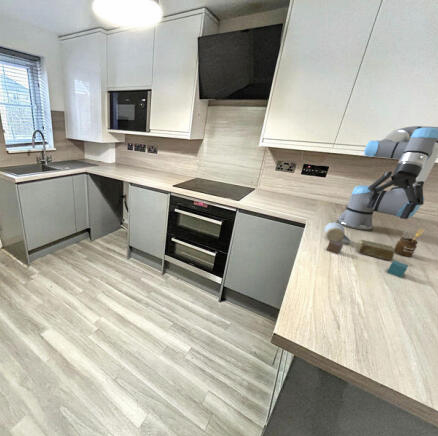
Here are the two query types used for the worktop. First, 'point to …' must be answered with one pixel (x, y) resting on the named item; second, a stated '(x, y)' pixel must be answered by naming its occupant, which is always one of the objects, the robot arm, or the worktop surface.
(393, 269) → the teal block
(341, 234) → the ceramic mug
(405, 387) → the worktop surface
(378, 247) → the stone block
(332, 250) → the walnut block
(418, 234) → the utensil holder
